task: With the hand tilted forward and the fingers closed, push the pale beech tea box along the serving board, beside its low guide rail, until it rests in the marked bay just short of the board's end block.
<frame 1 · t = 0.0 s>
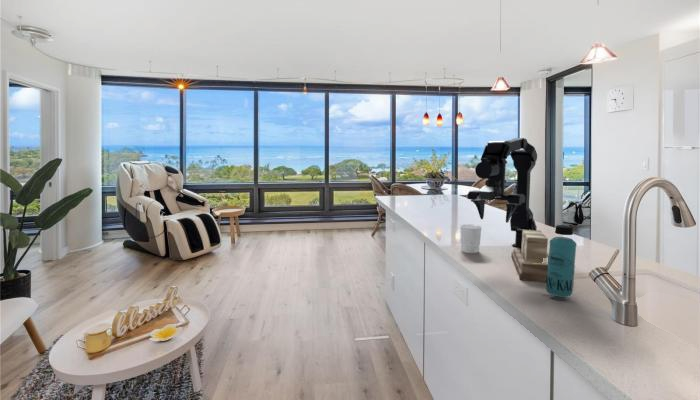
hand: (494, 220, 134), 15 cm above the counter, tool pointing down, fingers open, 9 cm apart
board: (534, 268, 127), on the counter
beverage bottle: (558, 298, 102), on the counter
tea box: (532, 259, 131), point 2 cm above the counter, touching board
white cup: (469, 251, 149), on the counter
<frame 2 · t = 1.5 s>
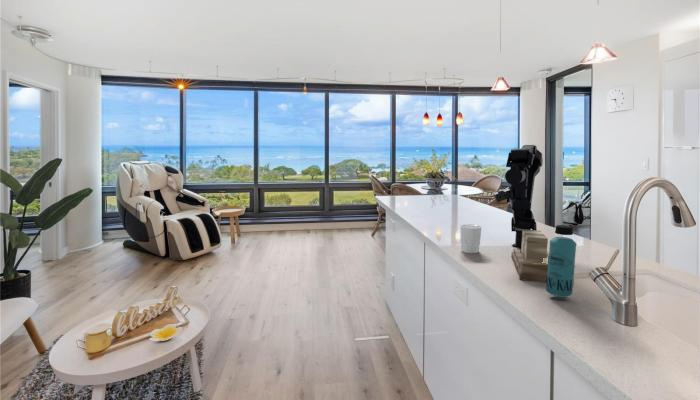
hand: (516, 224, 141), 12 cm above the counter, tool pointing down, fingers closed
nothing on the counter moved.
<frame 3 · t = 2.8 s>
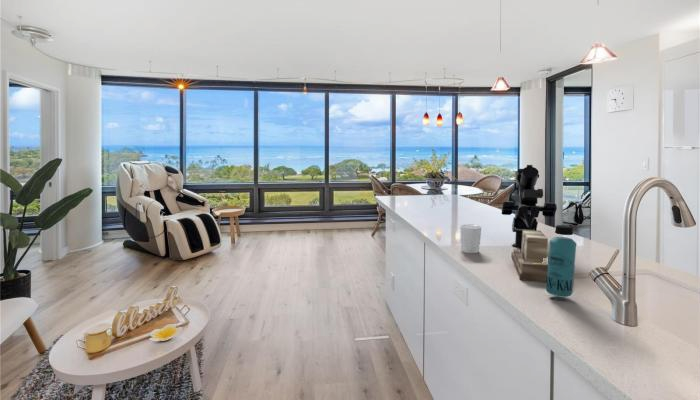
hand: (529, 227, 140), 11 cm above the counter, tool tilted 45°, fingers closed
nothing on the counter moved.
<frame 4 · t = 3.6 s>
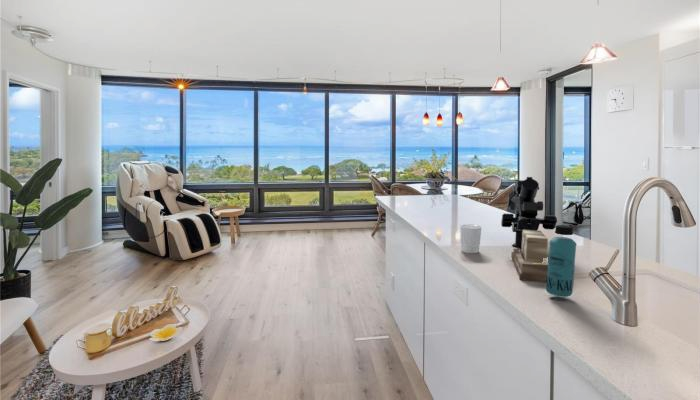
hand: (529, 240, 139), 7 cm above the counter, tool tilted 45°, fingers closed
nothing on the counter moved.
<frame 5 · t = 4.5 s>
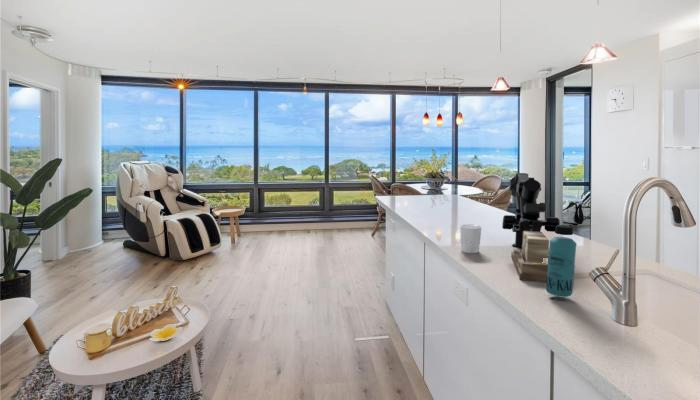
hand: (531, 242, 135), 7 cm above the counter, tool tilted 45°, fingers closed, pressing on tea box
tea box: (533, 260, 129), point 2 cm above the counter, touching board, gripper
everything else where it was.
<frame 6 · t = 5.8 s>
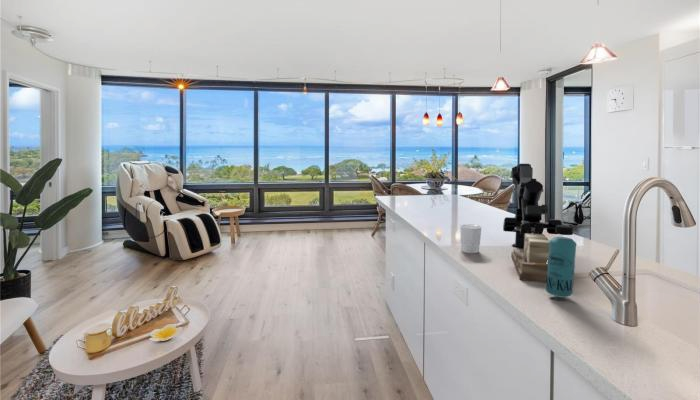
hand: (533, 245, 131), 7 cm above the counter, tool tilted 45°, fingers closed, pressing on tea box
tea box: (535, 264, 125), point 2 cm above the counter, touching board, gripper
everything else where it was.
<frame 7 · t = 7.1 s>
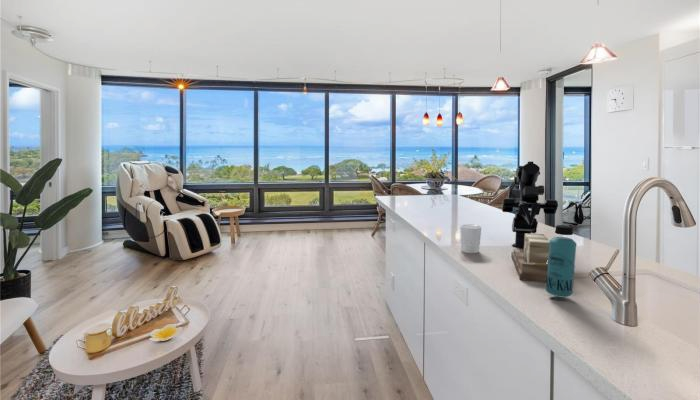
hand: (530, 224, 138), 13 cm above the counter, tool tilted 45°, fingers closed
tea box: (535, 264, 125), point 2 cm above the counter, touching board
everything else where it was.
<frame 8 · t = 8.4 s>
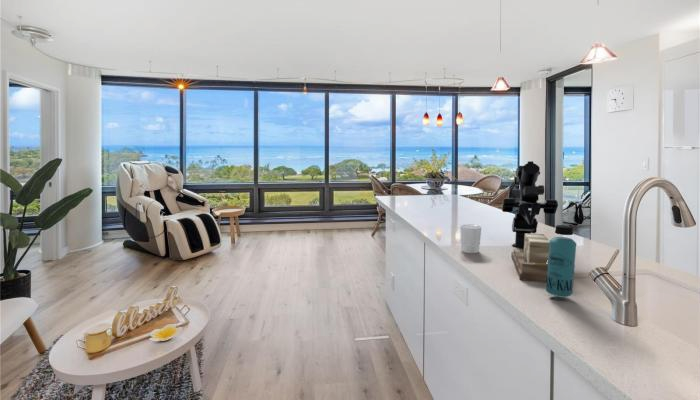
hand: (530, 224, 139), 13 cm above the counter, tool tilted 45°, fingers closed
nothing on the counter moved.
at the end: tea box inside the target area on the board (1.1 cm from its centre), point 2.0 cm above the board's base; tea box tilted 0°; tea box moved 5.9 cm from its start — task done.
